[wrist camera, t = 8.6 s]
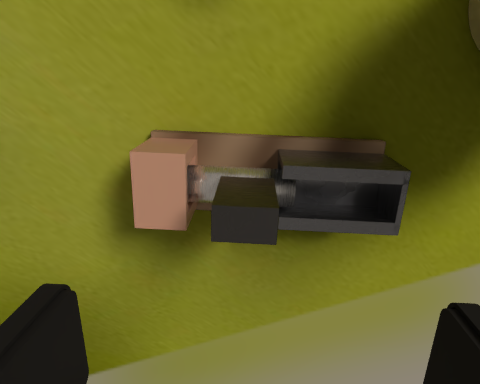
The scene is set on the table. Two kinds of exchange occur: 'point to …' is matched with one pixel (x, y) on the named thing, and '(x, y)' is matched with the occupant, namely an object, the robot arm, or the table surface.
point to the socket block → (162, 183)
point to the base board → (261, 148)
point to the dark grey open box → (343, 192)
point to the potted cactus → (475, 21)
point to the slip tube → (241, 201)
